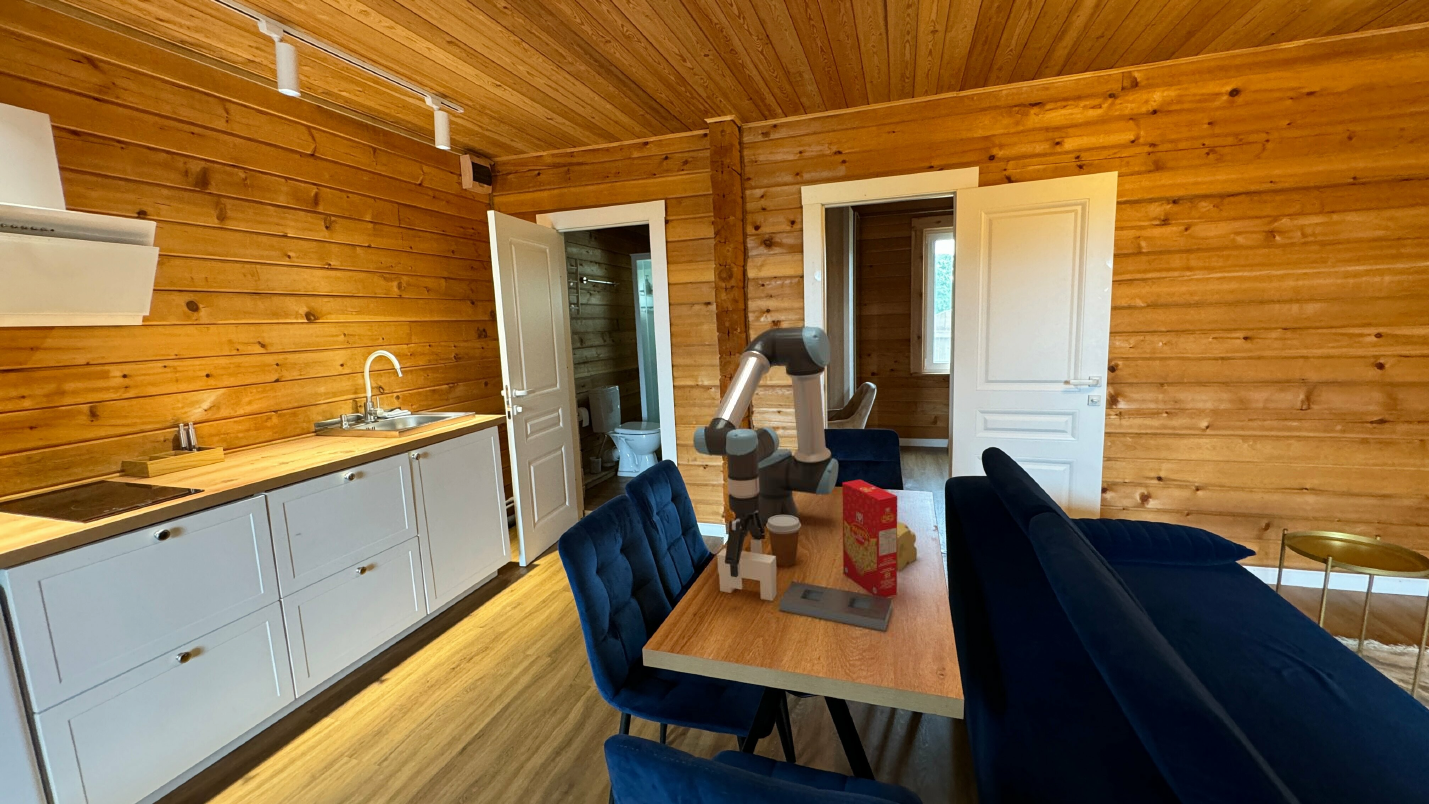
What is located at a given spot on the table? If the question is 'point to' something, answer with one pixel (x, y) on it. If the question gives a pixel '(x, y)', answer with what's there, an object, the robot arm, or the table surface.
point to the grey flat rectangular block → (837, 605)
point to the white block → (751, 572)
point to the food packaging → (870, 537)
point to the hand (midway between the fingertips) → (747, 575)
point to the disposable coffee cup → (784, 538)
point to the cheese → (905, 546)
